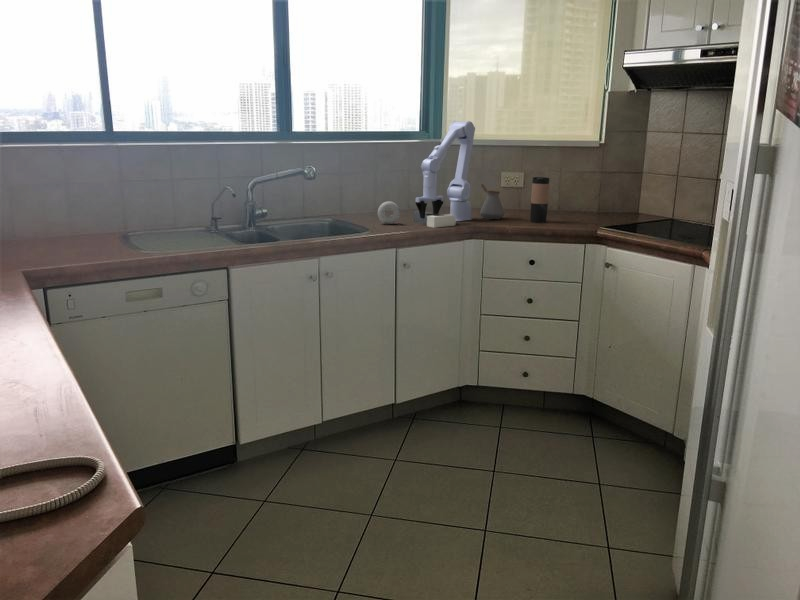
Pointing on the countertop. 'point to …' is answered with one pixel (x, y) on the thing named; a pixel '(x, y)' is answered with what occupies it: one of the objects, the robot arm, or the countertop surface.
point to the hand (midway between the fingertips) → (429, 217)
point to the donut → (395, 212)
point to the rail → (424, 221)
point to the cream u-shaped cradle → (441, 220)
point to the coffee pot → (492, 205)
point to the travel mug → (539, 199)
